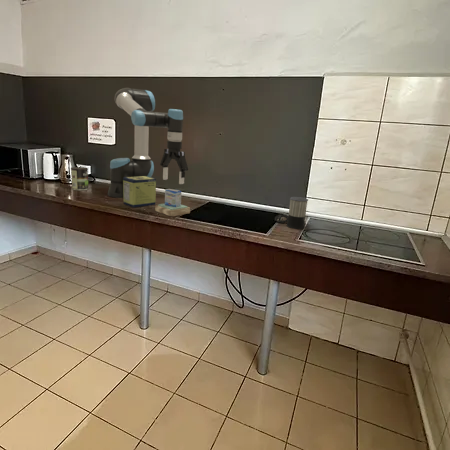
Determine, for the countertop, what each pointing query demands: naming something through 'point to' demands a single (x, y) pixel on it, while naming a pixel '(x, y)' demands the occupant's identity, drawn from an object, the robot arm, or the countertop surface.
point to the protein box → (139, 191)
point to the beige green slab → (172, 211)
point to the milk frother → (295, 213)
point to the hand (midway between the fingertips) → (173, 181)
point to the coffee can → (79, 178)
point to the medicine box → (172, 197)
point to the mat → (172, 207)
